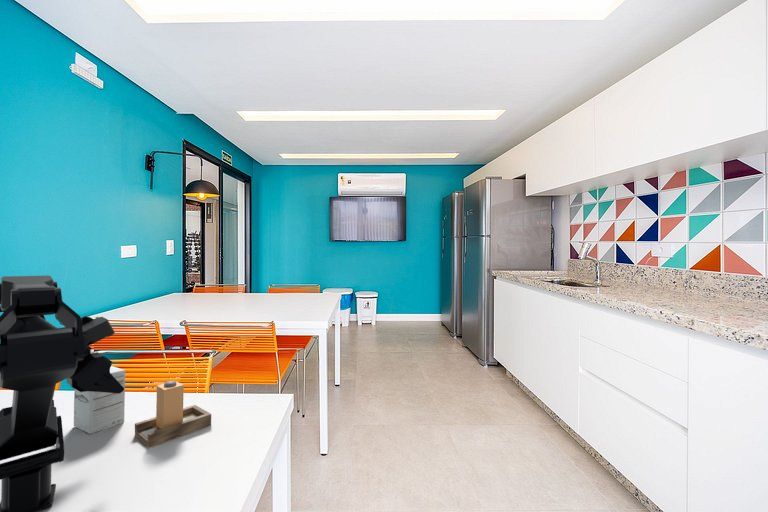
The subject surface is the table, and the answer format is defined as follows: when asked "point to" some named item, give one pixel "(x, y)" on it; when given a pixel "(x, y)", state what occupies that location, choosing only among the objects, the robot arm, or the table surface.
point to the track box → (172, 427)
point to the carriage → (169, 404)
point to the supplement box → (100, 406)
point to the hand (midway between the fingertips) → (114, 385)
